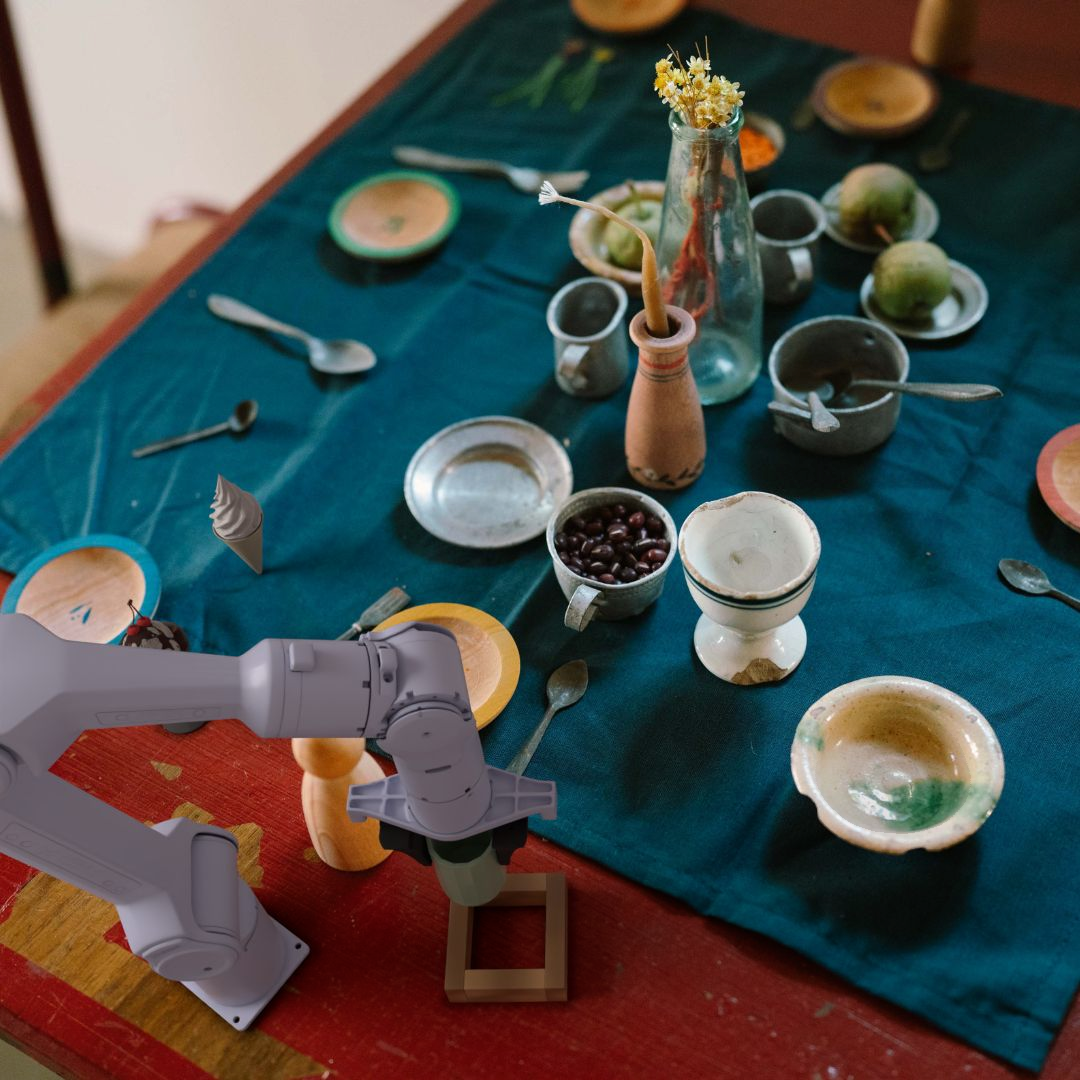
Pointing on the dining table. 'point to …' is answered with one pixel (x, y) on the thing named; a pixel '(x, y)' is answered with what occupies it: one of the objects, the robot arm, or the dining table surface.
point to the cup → (468, 868)
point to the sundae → (159, 638)
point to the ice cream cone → (238, 522)
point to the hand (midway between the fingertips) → (467, 853)
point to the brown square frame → (511, 981)
